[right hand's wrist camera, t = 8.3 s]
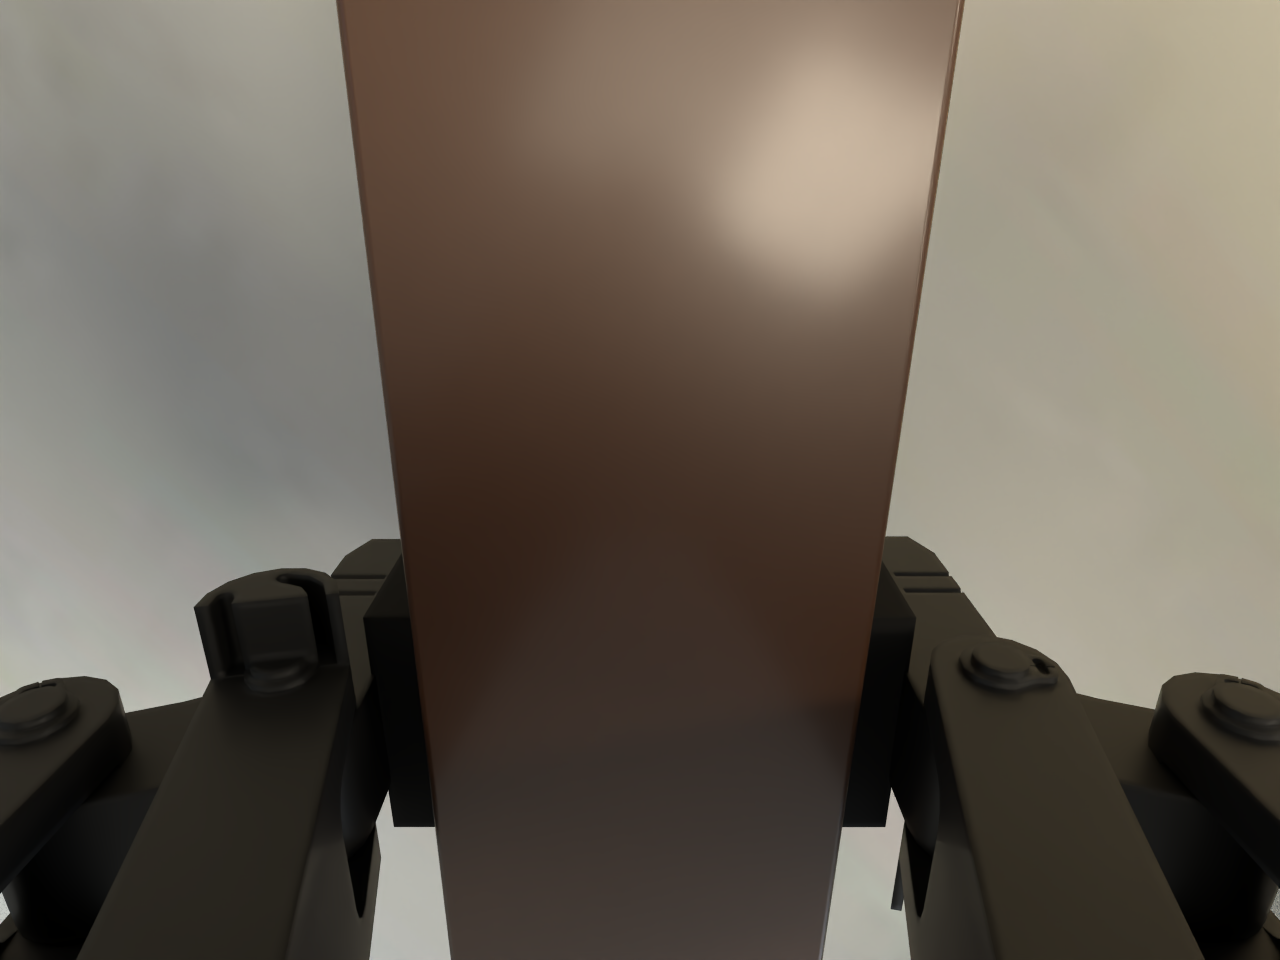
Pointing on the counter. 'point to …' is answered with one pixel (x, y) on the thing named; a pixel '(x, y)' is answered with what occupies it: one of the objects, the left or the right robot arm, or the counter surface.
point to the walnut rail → (644, 438)
